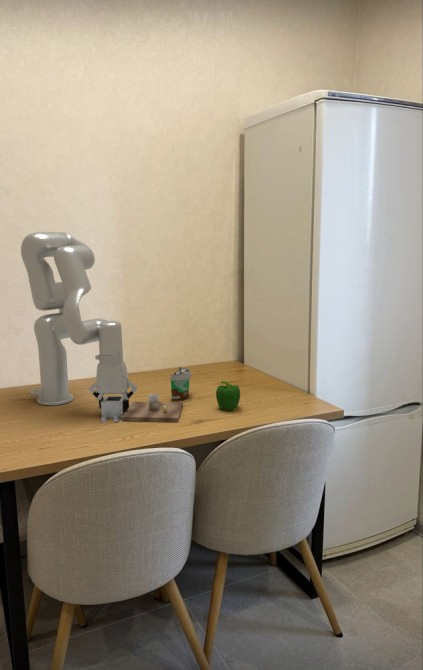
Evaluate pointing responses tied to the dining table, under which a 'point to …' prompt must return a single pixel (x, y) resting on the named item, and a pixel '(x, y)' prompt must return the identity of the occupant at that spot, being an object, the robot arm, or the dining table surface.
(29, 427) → the dining table surface
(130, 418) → the post board
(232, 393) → the bell pepper
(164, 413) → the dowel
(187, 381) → the food container
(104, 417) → the bracket
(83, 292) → the robot arm
